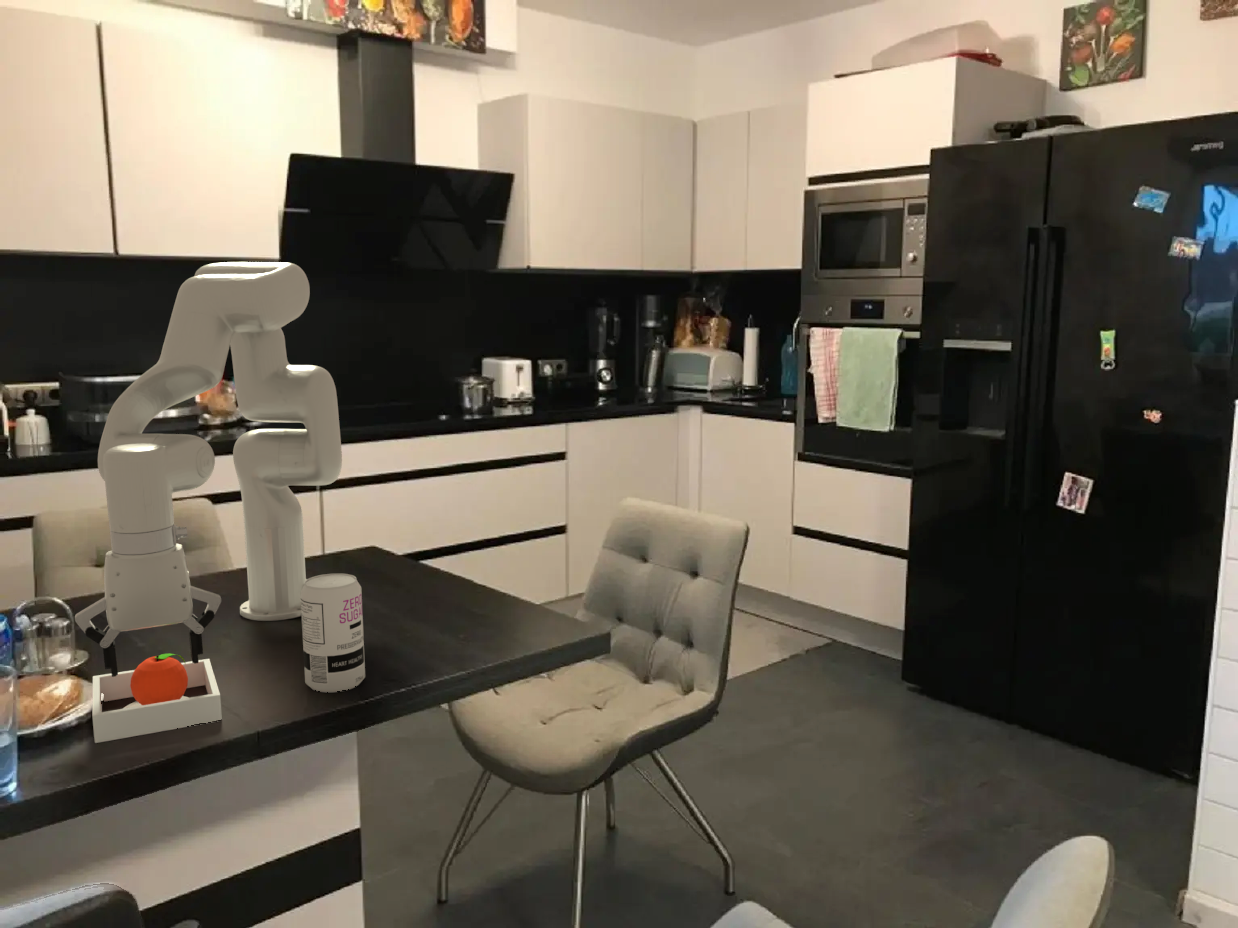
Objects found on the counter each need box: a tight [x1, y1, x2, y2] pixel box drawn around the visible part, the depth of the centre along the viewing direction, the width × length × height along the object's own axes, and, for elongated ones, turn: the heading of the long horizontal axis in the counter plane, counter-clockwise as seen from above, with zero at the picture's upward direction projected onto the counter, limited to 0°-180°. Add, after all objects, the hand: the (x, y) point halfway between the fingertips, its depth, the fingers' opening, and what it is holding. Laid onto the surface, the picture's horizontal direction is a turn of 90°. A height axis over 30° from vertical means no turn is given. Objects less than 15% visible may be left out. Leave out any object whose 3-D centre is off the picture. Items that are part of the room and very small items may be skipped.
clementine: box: [130, 653, 188, 705], centre depth 134 cm, size 8×7×7 cm
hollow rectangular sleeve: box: [91, 658, 223, 744], centre depth 134 cm, size 15×15×4 cm
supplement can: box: [300, 573, 366, 693], centre depth 142 cm, size 8×8×15 cm
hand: (155, 666), depth 134 cm, fingers open, 9 cm apart
